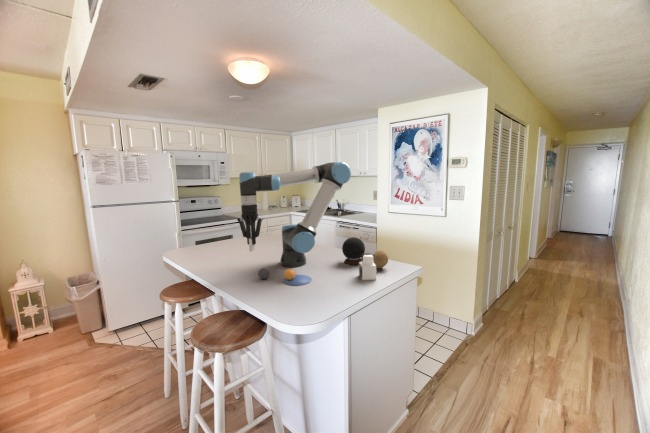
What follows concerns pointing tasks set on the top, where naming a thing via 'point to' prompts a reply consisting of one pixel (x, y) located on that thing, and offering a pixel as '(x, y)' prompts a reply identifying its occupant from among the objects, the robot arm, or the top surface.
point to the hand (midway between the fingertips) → (252, 250)
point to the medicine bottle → (367, 267)
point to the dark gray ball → (263, 273)
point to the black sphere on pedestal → (353, 251)
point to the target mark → (298, 280)
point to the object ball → (289, 274)
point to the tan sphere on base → (380, 259)
